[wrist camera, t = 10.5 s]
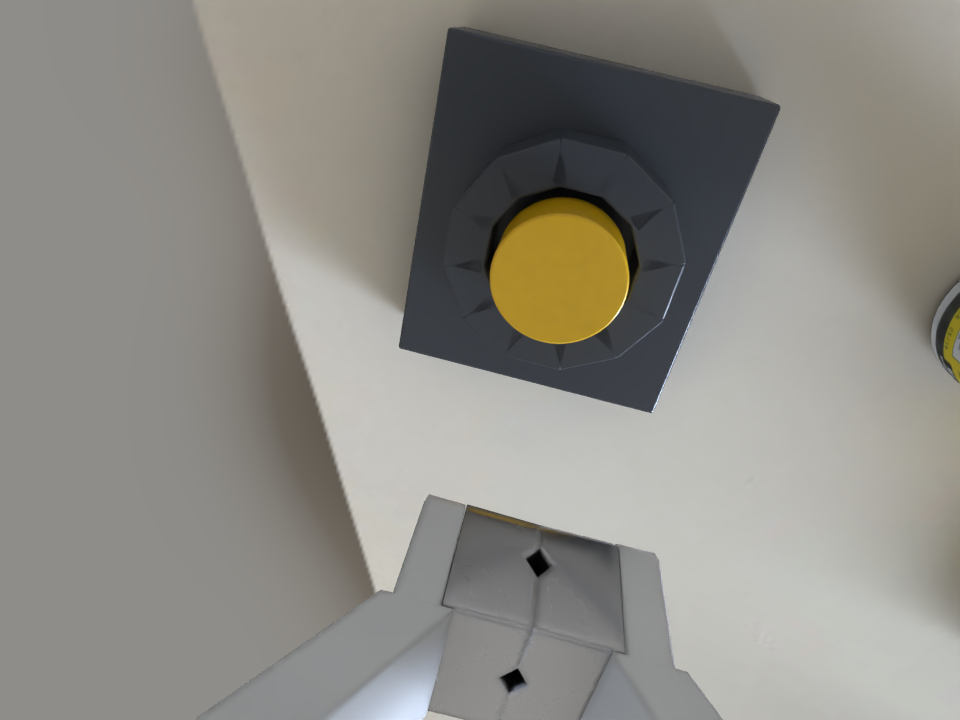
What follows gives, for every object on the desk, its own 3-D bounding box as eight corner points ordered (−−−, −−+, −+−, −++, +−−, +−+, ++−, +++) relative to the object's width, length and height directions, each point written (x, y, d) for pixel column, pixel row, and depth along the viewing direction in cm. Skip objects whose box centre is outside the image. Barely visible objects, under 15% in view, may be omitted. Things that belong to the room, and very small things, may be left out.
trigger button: (513, 182, 17) (505, 197, 15) (644, 214, 17) (649, 233, 15) (486, 301, 18) (477, 326, 17) (604, 330, 18) (605, 358, 17)
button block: (462, 26, 18) (432, 27, 15) (762, 96, 18) (802, 114, 14) (413, 322, 23) (382, 374, 20) (648, 382, 23) (657, 446, 19)
